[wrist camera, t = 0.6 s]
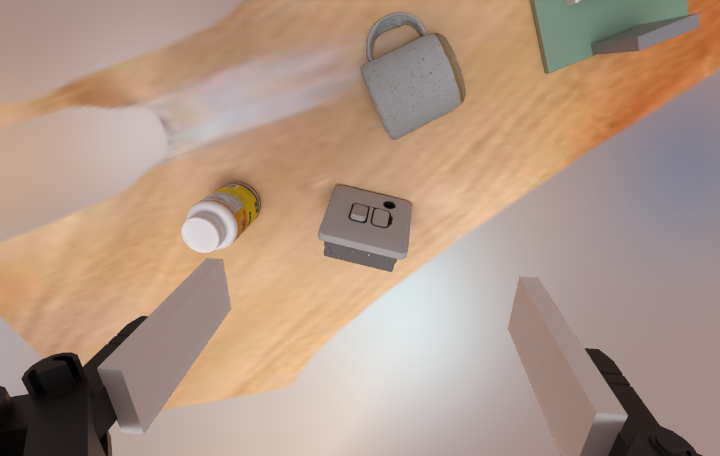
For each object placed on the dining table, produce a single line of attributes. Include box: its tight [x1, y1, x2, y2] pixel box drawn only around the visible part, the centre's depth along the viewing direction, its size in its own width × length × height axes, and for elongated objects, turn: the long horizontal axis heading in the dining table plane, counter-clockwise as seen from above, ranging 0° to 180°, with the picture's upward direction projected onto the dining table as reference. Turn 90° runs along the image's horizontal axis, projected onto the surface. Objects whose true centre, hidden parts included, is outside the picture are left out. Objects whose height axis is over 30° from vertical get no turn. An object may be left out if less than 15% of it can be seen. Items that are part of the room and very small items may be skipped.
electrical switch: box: [318, 185, 412, 272], centre depth 40 cm, size 9×5×9 cm, turn 78°
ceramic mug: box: [361, 12, 466, 140], centre depth 34 cm, size 11×8×8 cm
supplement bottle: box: [182, 183, 260, 253], centre depth 41 cm, size 6×6×10 cm
